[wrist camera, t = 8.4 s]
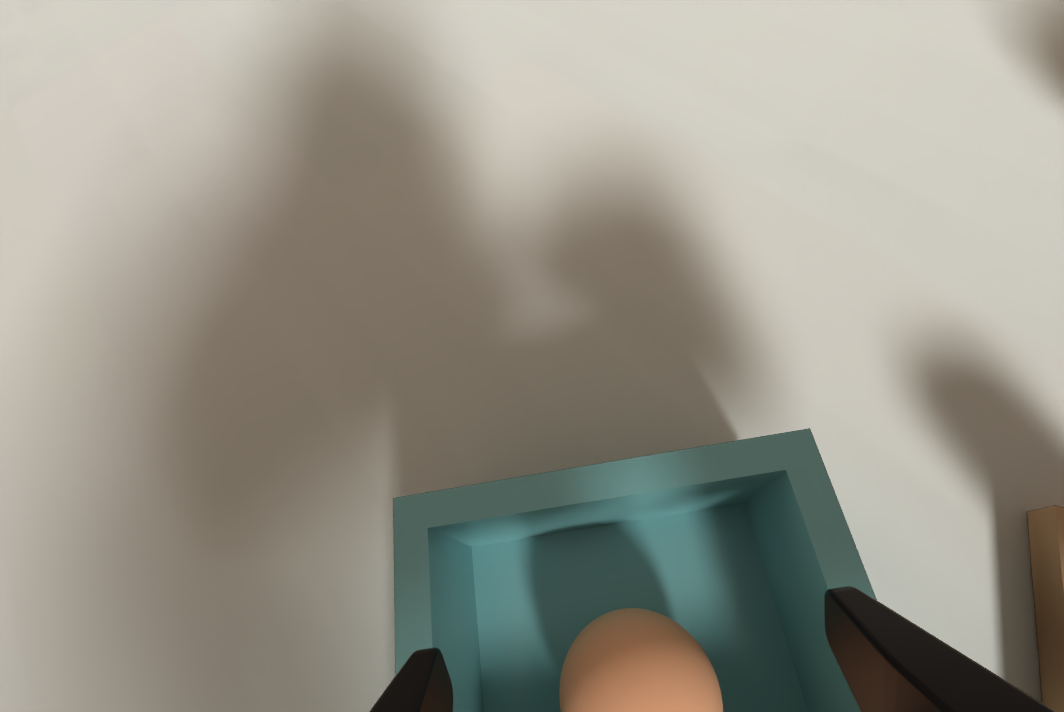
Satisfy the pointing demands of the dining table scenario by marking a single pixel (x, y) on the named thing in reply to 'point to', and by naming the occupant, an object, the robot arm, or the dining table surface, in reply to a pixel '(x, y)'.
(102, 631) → the dining table surface
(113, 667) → the dining table surface
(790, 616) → the teal open-top box
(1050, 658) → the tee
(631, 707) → the ball
